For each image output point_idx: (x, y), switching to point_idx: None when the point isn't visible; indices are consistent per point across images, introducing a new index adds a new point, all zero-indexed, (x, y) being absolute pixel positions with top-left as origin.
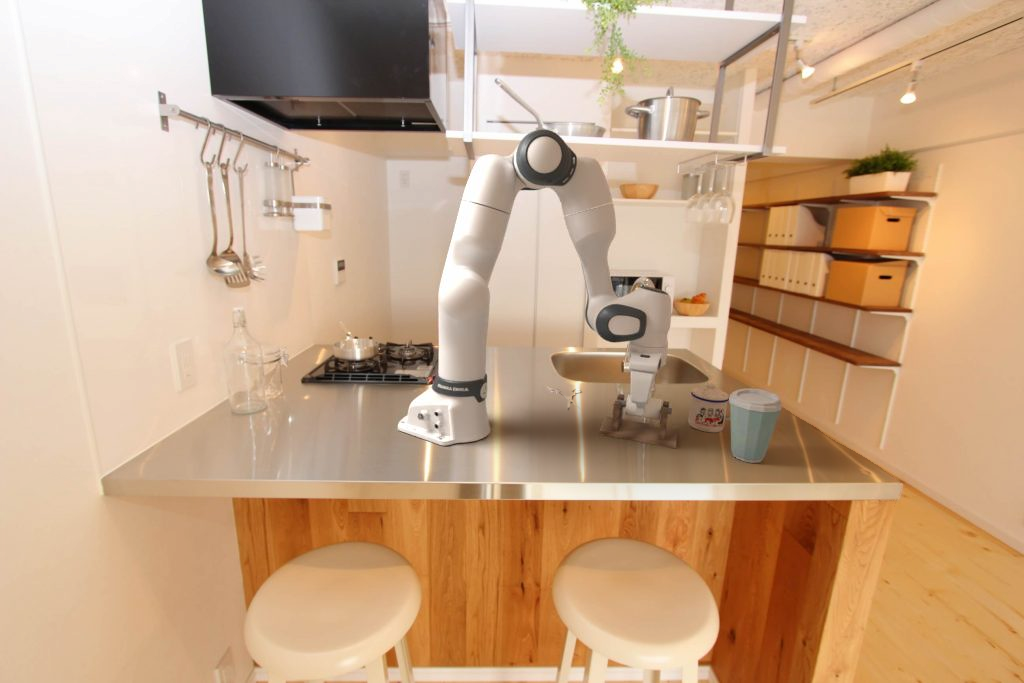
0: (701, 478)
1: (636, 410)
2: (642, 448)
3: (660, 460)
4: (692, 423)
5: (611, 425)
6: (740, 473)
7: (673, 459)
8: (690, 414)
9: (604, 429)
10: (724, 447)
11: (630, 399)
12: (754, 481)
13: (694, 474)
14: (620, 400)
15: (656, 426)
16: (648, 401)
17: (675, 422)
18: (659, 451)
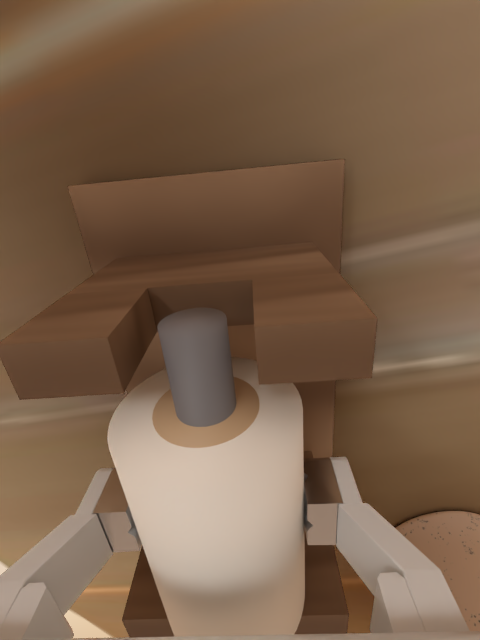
0: (11, 554)
1: (87, 491)
2: (79, 407)
3: (30, 468)
4: (410, 538)
5: (194, 239)
6: (118, 609)
7: (72, 496)
8: (451, 563)
9: (104, 216)
10: None
11: (133, 496)
12: (97, 625)
13: (20, 542)
14: (181, 370)
15: (311, 437)
16: (173, 604)
17: (441, 472)
18: (100, 457)
